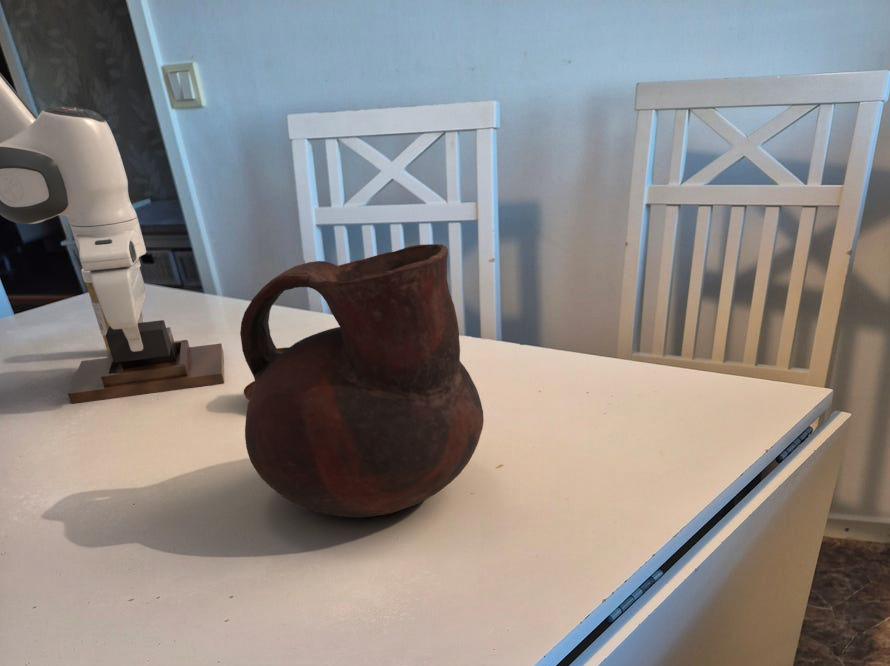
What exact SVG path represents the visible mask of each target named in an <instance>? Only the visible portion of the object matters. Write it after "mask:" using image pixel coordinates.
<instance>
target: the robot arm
mask: <svg viewBox="0 0 890 666" xmlns="http://www.w3.org/2000/svg"><path fill="white" fill-rule="evenodd" d="M119 150H120V149H119V147H118V144H117V142H116V139H115V136H114V134H113V132H112V129H111V127H110V125H109V124H108V122H107V120H106V119H105V117H103V116H101V114H99V113H98V112H96V111H94V110H91V109H88V108H84V107H83V108H82V107H78V106H68V105H67V106H62V105H53V106H47V107H45V108H43V109H42V110H41V111H40V113H39V115H38V116H37V115H36V114H35V112H34V111H33V110H32V109H31V108H30V107H29V105H28V104H27V103H26V102H25V101H24V99H23V98H22V97H21V96H20V94H19V93H18V92H17V90H16V89H14V87H13V86H12V85H11V84H10V83H9V82H8V80H7V79H6V78H5V76H4V75H3V74H2V73H1V72H0V216H1V217H2V218H4V219H6V220H8V221H10V222H12V223H16V224H21V225H34V224H35V225H36V224H40V223H43V222H45V221H48V220H51V219H53V218H56V217H57V216H63V217H66V219H67V220H68V222H69V226H70V229H71V232H72V235H73V238H74V241H75V245H76V248H77V252H78V257H79V261H80V265H81V267H82V268H81V269H83V270H84V271H90V277H91V281H92V284H93V287H94V289H95V292H96V295H97V297H98V300H99V303H100V305H101V308H102V310H103V313H104V315H105V318H106V320H107V322H108V323H109V325H110V327H111V328H112V329H122V330H123V332H124V334H125V336H126V338H127V340H128V343H129V346H130V349H131V351H133V352H136V351H142V350H143V347H144V344H143V341H142V337H141V336H140V332H139V329H138V323H143V322H145V320H144V313H143V312H144V311H143V306H144V303H145V299H146V295H147V290H146V285H145V281H144V278H143V275H142V271H141V267H142V264H141V262H140V257H142V256H144V255H146V254H147V248H146V245H145V241H144V237H143V233H142V229H141V225H140V221H139V217H138V214H137V211H136V210H135V208H134V206H133V204H132V202H131V200H130V196H129V195H130V194H129V181H128V176H127V173H126V170H125V167H124V163H123V159H122V156H121V153H120V151H119Z"/></svg>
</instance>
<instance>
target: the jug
mask: <svg viewBox="0 0 890 666" xmlns="http://www.w3.org/2000/svg"><path fill="white" fill-rule="evenodd" d="M448 254H449V249H448V247H447V246H446V245H444V244H440V243H437V244H435V243H433V244H432V243H431V244H429V243H428V244H427V243H426V244H414V245H410V246H407V247H404V248H401V249H398V250H395V251H387V252H384V253H380V254H377V255H373V256H369V257H366V258H363V259H359V260H354V261H350V262H345V263H342V264H339V265H337V264H335V263H332V262H330V261H325V260H315V261H308V262H305V263H301V264H297V265H294V266H292V267H290V268H288V269H287V270H284V271H283V272H281V273H280V274H278V275H277V276H275V277H274V278H272V279H271V280H270V281H269V282H268V283H266V284H265V285H264V286H263V287H262V288H261V289H260V290H259V291H258V292H257V293H256V295H254V297H253V298H252V299H251V301H250V303H249V304H248V306H247V307H246V309H245V311H244V313H243V316H242V319H241V323H240V332H239V333H240V341H241V349H242V353H243V356H244V359H245V362H246V364H247V366H248V368H249V370H250V373H251V374H252V376H253V378H254V381H255V385H254V388H253V391H252V394H251V397H250V400H248V403H247V408H246V414H245V425H244V440H245V449H246V451H247V452H246V453H247V455H248V458H249V460H250V463H251V465H252V466H253V468H254V470H255V472H256V473H257V474H258V475H259V477H260V478H261V479H262V480H263V481H264V483H266V484H267V485H268V486H269V487H270V489H272V490H273V491H275V492H276V493H277V494H278V495H280V496H281V497H283V499H286V500H287V501H289V502H291V503H292V504H295V505H298V506H300V507H302V508H304V509H306V510H309V511H311V512H314V513H318V514H323V515H329V516H337V517H346V518H369V517H376V516H386V515H391V514H393V513H397V512H399V511H402V510H404V509H407V508H410V507H412V506H413V507H414V506H416V505H418V504H420V503H423V502H424V501H426V500H428V499H430V498H431V497H433V496H435V495H436V494H438V493H439V492H440V491H442V490H443V489H445V488H446V487H447V486H449V484H451V483H452V482H453V481H454V480H455V479H456V478H457V477H458V476H459V475H460V474H461V473H462V472H463V470H464V469H465V468H466V467H467V466H468V464H469V463H470V460H471V459H472V457H473V455H474V454H475V451H476V449H477V447H478V444H479V442H480V438H481V436H482V431H483V429H484V421H485V419H484V409H483V405H482V400H481V398H480V395H479V394H480V393H479V391H478V389H477V387H476V385H475V383H474V380H473V379H472V377H471V374H470V372H468V370H467V368H466V367H465V365H464V364H463V362H461V344H460V343H461V342H460V329H459V321H458V317H457V312H456V308H455V304H454V301H453V298H452V296H451V293H450V289H449V288H450V287H449V281H448V256H449V255H448ZM296 288H297V289H298V288H309V289H311V290H312V289H313V290H314V291H316V292H317V293H319V295H321V297H322V298H323V300H325V302H326V304H327V306H328V308H329V310H330V312H331V314H332V316H333V317H334V319H335V321H336V323H337V324H338V326H336V327H333V328H329V329H326V330H322V331H320V332H317V333H315V334H314V333H313V334H311V335H310V336H309V335H308V336H306V337H304V338H302V339H300V340H299V341H297V342H294V343H293V344H292V345H291V346H288V347H289V348H288V349H287V350H286V351H285V352H283V353H281V352H279V351H278V350H277V348H278V347H276V345H275V343H274V340H273V338H272V336H271V329H270V324H269V322H270V315H271V314H270V313H271V309H272V307H273V306H274V304H275V303H276V302H277V300H278V299H279V297H280V296H281V295H282V294H284V292H285V291H290V290H293V289H296Z"/></svg>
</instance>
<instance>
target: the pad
mask: <svg viewBox="0 0 890 666" xmlns="http://www.w3.org/2000/svg"><path fill="white" fill-rule="evenodd" d="M166 328H167V326H166V322H165V320H164V319H160V320H152V321H144V322H143V323H138V329H139V332H140V336H141V337H142V341H143V344H144V347H143V350H142V351H136V352H133V351H131V349H130V346H129V343H128V340H127V338H126V336H125V334H124V332H123V330H122V329H112V328H111V327H110V326H109V328H108V331H107V333H106V339H107V342H108V346H109V349H110V352H111V355H112V359H113V362H114V363H119V362H126V361H134V360H142V359H150V358H158V357H166V356H170V350H171V344H170V340H169V337H168V333H167V329H166Z"/></svg>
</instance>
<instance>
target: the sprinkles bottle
mask: <svg viewBox="0 0 890 666" xmlns="http://www.w3.org/2000/svg"><path fill="white" fill-rule="evenodd" d="M80 273H81V276H82V279H83V282H84V283H85V285H86V288H87V291H88V294H89V297H90V302H91V305H92V309H93V312H94V315H95V318H96V322H97V325H98V328H99V331H100V333H101V335H102V338H103V341H104V345H105V348H106V353H107V354H108V355H109V352H110V349H109V346H108V342H107V339H106V333H107V331H108V328H109V326H110V325H109V323H108V322H107V320H106V318H105V315H104V313H103V310H102V308H101V305H100V303H99V300H98V297H97V295H96V292H95V289H94V287H93V284H92V281H91V277H90V271H84V270H83V268H81V270H80Z"/></svg>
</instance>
